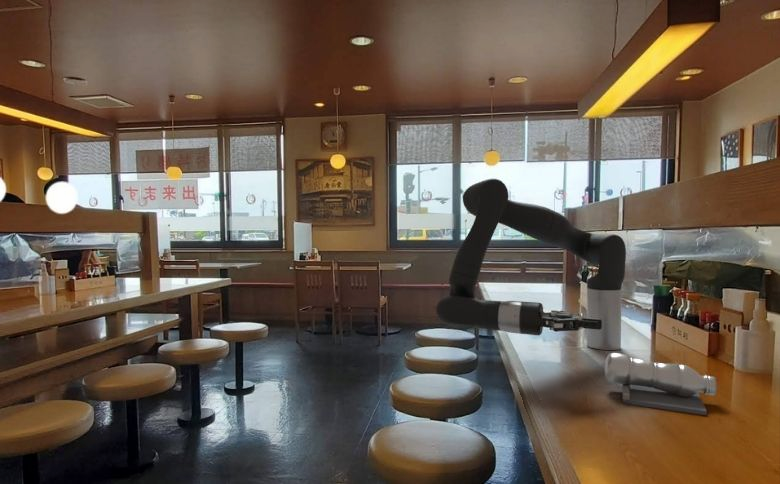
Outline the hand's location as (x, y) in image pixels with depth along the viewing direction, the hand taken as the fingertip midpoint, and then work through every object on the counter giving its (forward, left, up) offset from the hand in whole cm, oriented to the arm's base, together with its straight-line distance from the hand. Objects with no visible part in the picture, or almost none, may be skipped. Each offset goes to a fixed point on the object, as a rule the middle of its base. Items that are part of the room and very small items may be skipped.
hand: (601, 324), depth 101 cm
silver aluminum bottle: (+1, 0, -9) cm, 9 cm away
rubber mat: (0, +11, -14) cm, 18 cm away
